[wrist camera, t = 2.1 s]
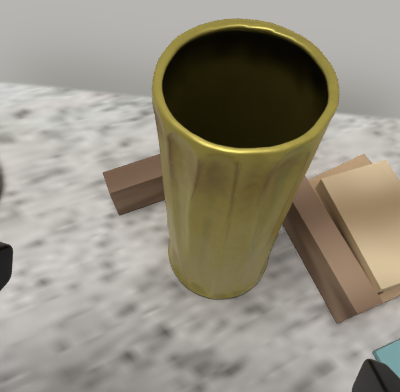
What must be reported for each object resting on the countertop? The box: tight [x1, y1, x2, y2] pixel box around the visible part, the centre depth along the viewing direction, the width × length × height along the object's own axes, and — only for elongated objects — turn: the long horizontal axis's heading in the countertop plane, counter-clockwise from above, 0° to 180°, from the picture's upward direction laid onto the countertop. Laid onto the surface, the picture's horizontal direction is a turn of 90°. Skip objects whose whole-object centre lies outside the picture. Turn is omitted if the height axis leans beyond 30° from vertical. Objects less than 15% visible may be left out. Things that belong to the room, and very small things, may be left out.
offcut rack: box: [103, 154, 400, 323], centre depth 22 cm, size 12×16×4 cm
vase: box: [152, 19, 339, 299], centre depth 17 cm, size 6×6×14 cm
